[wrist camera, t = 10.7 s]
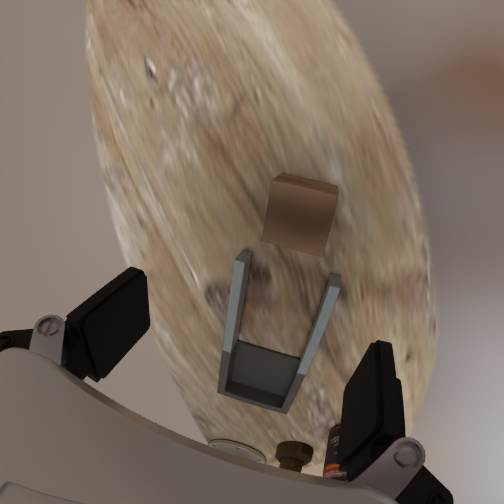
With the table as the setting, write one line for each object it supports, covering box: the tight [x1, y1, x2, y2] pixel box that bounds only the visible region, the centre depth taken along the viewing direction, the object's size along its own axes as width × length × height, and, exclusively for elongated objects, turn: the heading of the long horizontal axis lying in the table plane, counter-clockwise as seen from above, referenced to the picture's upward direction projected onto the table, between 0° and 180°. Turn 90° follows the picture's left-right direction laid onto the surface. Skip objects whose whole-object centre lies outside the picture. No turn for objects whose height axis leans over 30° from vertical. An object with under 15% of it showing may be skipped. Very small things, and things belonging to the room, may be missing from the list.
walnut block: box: [261, 173, 338, 257], centre depth 23 cm, size 5×5×4 cm
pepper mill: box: [275, 442, 313, 473], centre depth 33 cm, size 7×6×18 cm
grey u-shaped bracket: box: [217, 250, 340, 414], centre depth 31 cm, size 21×10×2 cm, turn 171°
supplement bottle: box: [323, 425, 348, 481], centre depth 31 cm, size 6×6×11 cm
